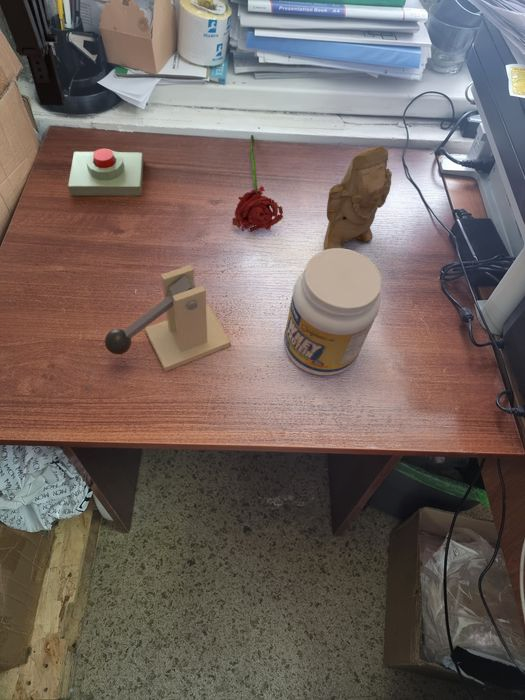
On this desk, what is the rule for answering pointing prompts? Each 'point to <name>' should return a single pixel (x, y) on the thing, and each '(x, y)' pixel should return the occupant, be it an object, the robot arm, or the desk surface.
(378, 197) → the figurine
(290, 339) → the supplement tub
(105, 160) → the stop button
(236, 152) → the desk surface
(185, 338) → the switch bracket
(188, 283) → the switch lever
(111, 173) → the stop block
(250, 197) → the flower
